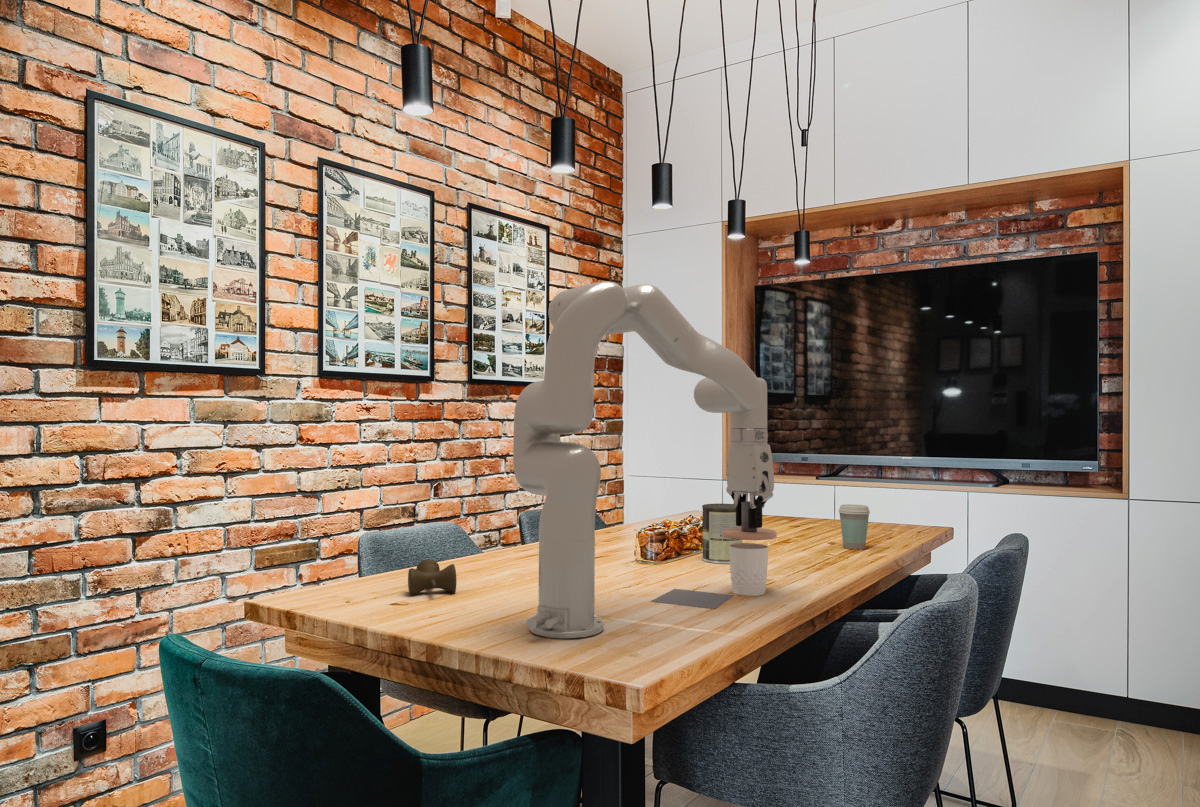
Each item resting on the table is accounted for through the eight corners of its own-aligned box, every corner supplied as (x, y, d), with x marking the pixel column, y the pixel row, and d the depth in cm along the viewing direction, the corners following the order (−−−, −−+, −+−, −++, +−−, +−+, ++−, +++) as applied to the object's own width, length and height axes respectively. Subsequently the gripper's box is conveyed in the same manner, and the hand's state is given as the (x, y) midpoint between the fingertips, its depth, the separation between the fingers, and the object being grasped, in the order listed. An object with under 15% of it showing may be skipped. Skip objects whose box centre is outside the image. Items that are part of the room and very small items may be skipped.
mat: (714, 612, 145) (714, 608, 145) (650, 604, 150) (650, 601, 150) (735, 598, 156) (735, 595, 156) (674, 591, 162) (674, 588, 162)
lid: (769, 541, 153) (768, 505, 153) (715, 537, 158) (715, 503, 158) (782, 534, 162) (782, 500, 163) (731, 531, 167) (731, 498, 168)
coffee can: (693, 560, 200) (693, 505, 200) (720, 555, 207) (720, 502, 207) (724, 565, 192) (724, 508, 193) (751, 561, 199) (751, 505, 199)
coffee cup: (876, 549, 219) (876, 506, 219) (855, 551, 215) (855, 507, 215) (853, 545, 226) (852, 503, 227) (832, 547, 222) (831, 505, 222)
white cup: (765, 591, 163) (765, 543, 163) (770, 599, 155) (770, 549, 156) (727, 590, 164) (728, 542, 164) (730, 598, 156) (730, 548, 156)
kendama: (450, 582, 174) (459, 598, 155) (405, 585, 171) (409, 603, 152) (449, 555, 174) (458, 568, 155) (405, 558, 172) (409, 572, 152)
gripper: (790, 438, 155) (790, 530, 155) (737, 436, 169) (737, 521, 169) (761, 438, 151) (761, 533, 151) (709, 436, 166) (709, 523, 165)
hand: (748, 525), depth 160 cm, fingers closed on lid, 3 cm apart
